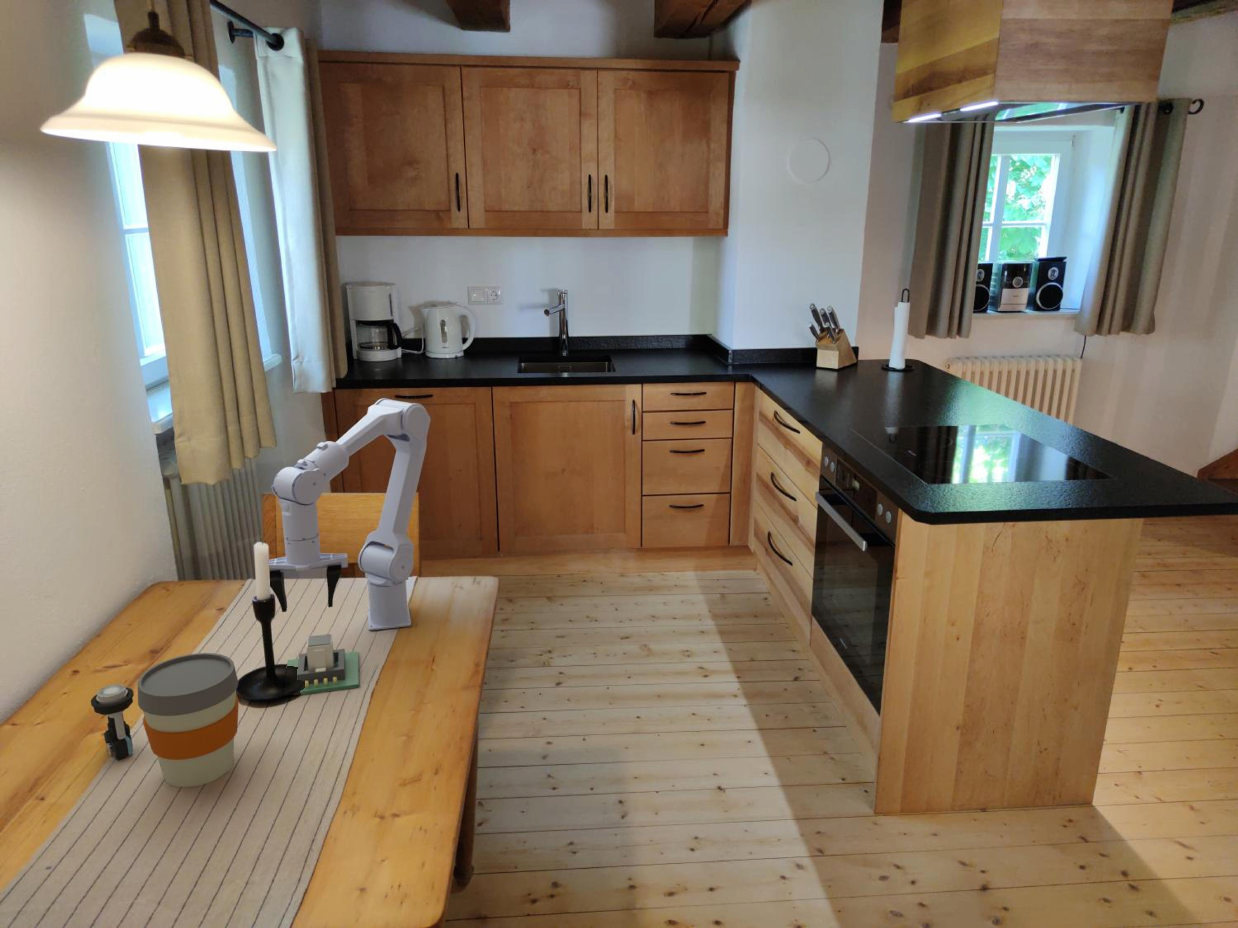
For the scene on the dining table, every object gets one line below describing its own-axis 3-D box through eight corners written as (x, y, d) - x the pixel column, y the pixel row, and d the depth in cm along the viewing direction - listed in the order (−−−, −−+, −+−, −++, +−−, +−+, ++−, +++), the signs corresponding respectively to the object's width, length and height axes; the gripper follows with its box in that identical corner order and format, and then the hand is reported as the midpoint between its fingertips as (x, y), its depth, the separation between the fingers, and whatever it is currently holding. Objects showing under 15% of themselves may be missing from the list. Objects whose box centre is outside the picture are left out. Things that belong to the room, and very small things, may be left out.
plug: (310, 668, 147) (307, 636, 145) (334, 665, 148) (331, 633, 146) (309, 680, 143) (306, 647, 141) (333, 677, 144) (331, 644, 142)
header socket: (288, 662, 150) (286, 648, 149) (358, 654, 153) (357, 640, 152) (283, 697, 139) (281, 681, 138) (358, 687, 142) (357, 672, 141)
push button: (91, 747, 124) (81, 687, 122) (130, 732, 128) (121, 674, 125) (107, 766, 120) (96, 704, 117) (147, 750, 124) (138, 690, 121)
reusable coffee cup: (197, 804, 112) (184, 705, 108) (128, 782, 116) (113, 686, 113) (266, 753, 124) (256, 661, 120) (200, 734, 128) (188, 645, 124)
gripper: (253, 546, 140) (261, 621, 143) (345, 539, 144) (350, 611, 148) (258, 533, 146) (265, 604, 150) (345, 526, 151) (350, 595, 154)
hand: (307, 607), depth 149 cm, fingers open, 7 cm apart
